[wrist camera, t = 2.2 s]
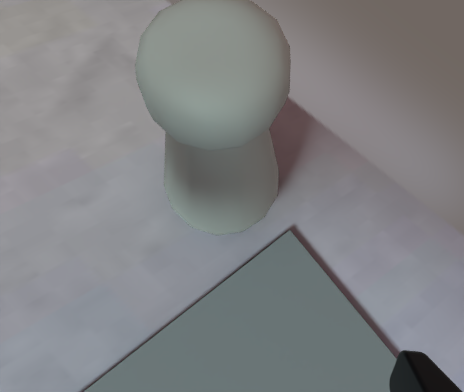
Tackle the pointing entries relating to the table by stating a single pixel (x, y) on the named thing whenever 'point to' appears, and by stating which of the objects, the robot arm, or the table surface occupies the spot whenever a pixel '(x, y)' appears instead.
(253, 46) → the salt shaker
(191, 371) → the slate mat
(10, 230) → the table surface
